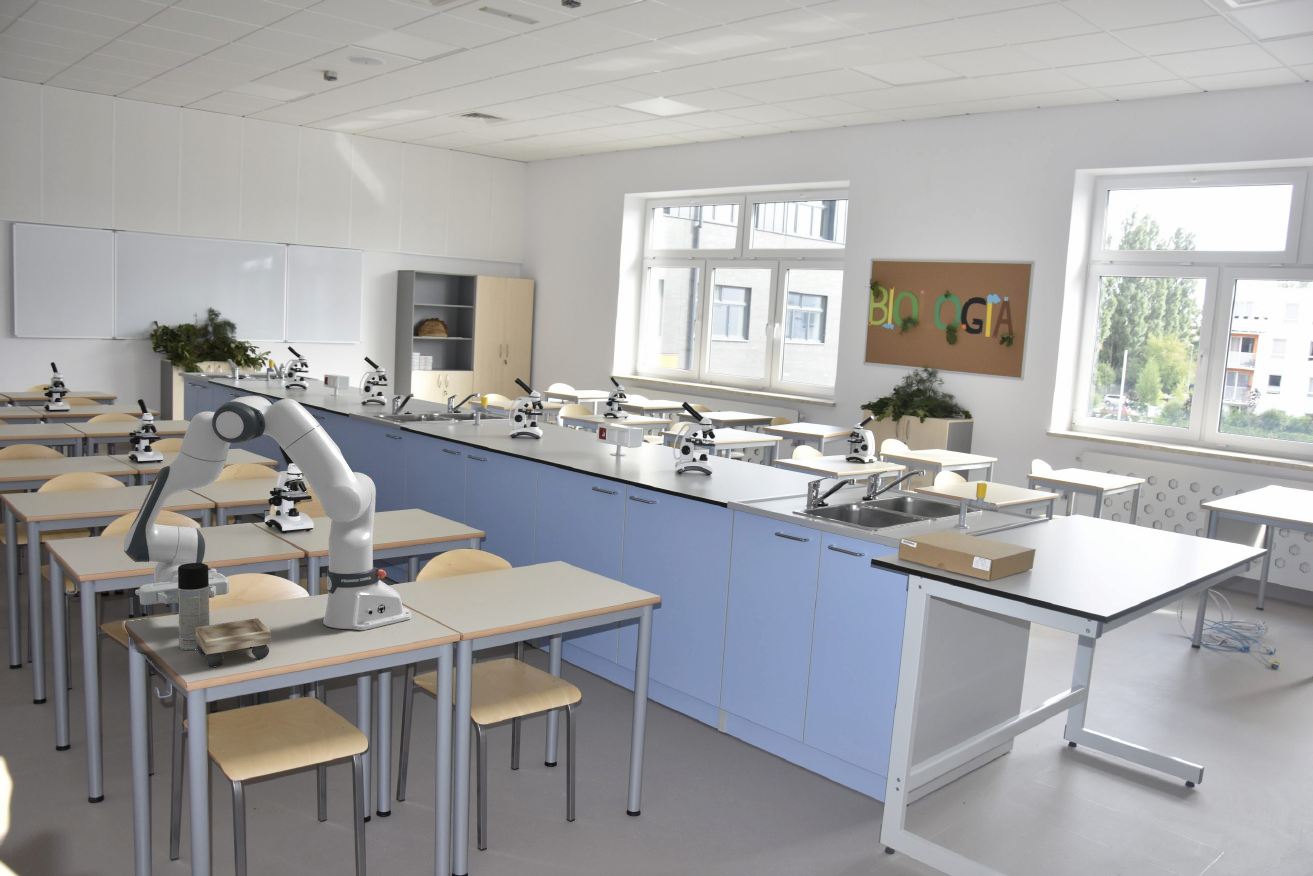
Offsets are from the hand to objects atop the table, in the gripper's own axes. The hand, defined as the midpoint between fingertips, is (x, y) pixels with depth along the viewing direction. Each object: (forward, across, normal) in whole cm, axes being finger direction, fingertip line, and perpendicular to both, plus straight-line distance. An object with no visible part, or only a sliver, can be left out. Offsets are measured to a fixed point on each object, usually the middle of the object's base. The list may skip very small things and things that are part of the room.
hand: (190, 597), depth 232 cm
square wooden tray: (+17, +6, +11) cm, 21 cm away
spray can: (+5, 0, +11) cm, 12 cm away
